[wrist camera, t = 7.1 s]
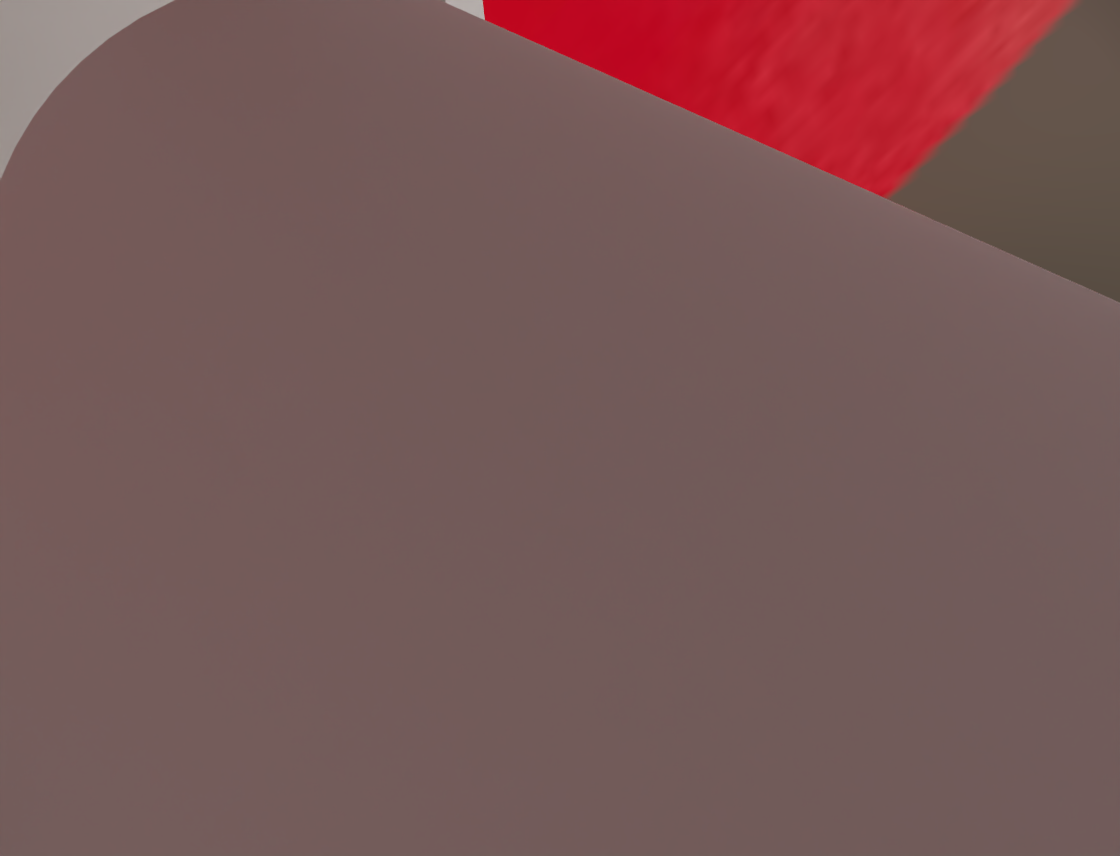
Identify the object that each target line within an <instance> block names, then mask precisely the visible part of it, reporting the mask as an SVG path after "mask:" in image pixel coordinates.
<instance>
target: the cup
mask: <svg viewBox="0 0 1120 856" xmlns="http://www.w3.org/2000/svg"><path fill="white" fill-rule="evenodd" d="M0 856H1120V303H1119V302H1117V301H1115V300H1112V299H1110V298H1108V297H1106V296H1103V295H1101V294H1099V293H1097V292H1094V291H1092V290H1090V289H1087V288H1085V287H1083V286H1081V285H1079V284H1076V283H1074V282H1072V281H1070V280H1067V279H1065V278H1063V277H1060V276H1058V275H1056V274H1054V273H1052V272H1049V271H1047V270H1045V269H1043V268H1040V267H1038V266H1036V265H1034V264H1032V263H1029V262H1027V261H1025V260H1022V259H1020V258H1018V257H1016V256H1014V255H1011V254H1009V253H1007V252H1004V251H1002V250H1000V249H998V248H996V247H993V246H991V245H989V244H987V243H984V242H982V241H980V240H977V239H975V238H973V237H971V236H969V235H966V234H964V233H961V232H960V231H957V230H955V229H953V228H951V227H948V226H946V225H944V224H941V223H939V222H937V221H935V220H933V219H930V218H928V217H926V216H923V215H921V214H919V213H917V212H915V211H912V210H910V209H908V208H906V207H903V206H901V205H899V204H897V203H894V202H892V201H890V200H888V199H885V198H883V197H881V196H879V195H876V194H874V193H872V192H870V191H867V190H865V189H863V188H861V187H858V186H856V185H854V184H852V183H849V182H847V181H845V180H843V179H840V178H838V177H836V176H834V175H832V174H829V173H827V172H825V171H823V170H820V169H818V168H816V167H814V166H811V165H809V164H807V163H805V162H802V161H800V160H798V159H796V158H793V157H791V156H789V155H787V154H784V153H782V152H780V151H778V150H775V149H773V148H771V147H769V146H766V145H764V144H762V143H760V142H757V141H755V140H753V139H751V138H748V137H746V136H744V135H742V134H739V133H737V132H735V131H733V130H730V129H728V128H726V127H724V126H721V125H719V124H717V123H715V122H712V121H710V120H708V119H706V118H703V117H701V116H699V115H697V114H694V113H692V112H690V111H688V110H685V109H683V108H681V107H679V106H676V105H674V104H672V103H670V102H667V101H665V100H663V99H661V98H658V97H656V96H654V95H652V94H649V93H647V92H645V91H643V90H640V89H638V88H636V87H634V86H632V85H629V84H627V83H625V82H623V81H620V80H618V79H616V78H614V77H611V76H609V75H607V74H605V73H602V72H600V71H598V70H596V69H593V68H591V67H589V66H587V65H584V64H582V63H580V62H578V61H575V60H573V59H571V58H569V57H566V56H564V55H562V54H560V53H557V52H555V51H553V50H551V49H548V48H546V47H544V46H542V45H539V44H537V43H535V42H533V41H530V40H528V39H526V38H524V37H521V36H519V35H517V34H515V33H512V32H510V31H508V30H506V29H503V28H501V27H499V26H497V25H494V24H492V23H490V22H488V21H485V20H483V19H481V18H479V17H476V16H474V15H472V14H470V13H467V12H465V11H463V10H461V9H458V8H456V7H454V6H452V5H449V4H447V3H445V2H443V1H440V0H175V1H172V2H170V3H168V4H166V5H164V6H162V7H160V8H158V9H156V10H155V11H153V12H151V13H149V14H147V15H145V16H143V17H141V18H139V19H137V20H136V21H134V22H133V23H131V24H130V25H128V26H127V27H125V28H124V29H122V30H121V31H119V32H118V33H116V34H115V35H113V36H112V37H110V38H109V39H107V40H106V41H105V42H104V43H103V44H101V45H100V46H99V47H98V48H97V49H95V50H94V51H93V52H92V53H91V54H89V55H88V56H87V57H86V58H84V59H83V60H82V61H81V62H80V63H79V64H78V65H77V66H76V67H75V68H74V69H73V70H72V71H71V72H70V73H69V74H68V75H67V76H66V77H65V78H64V79H63V81H62V82H61V83H60V84H59V85H58V86H57V87H56V88H55V89H54V90H53V92H52V93H51V94H50V96H49V97H48V98H47V100H46V101H45V102H44V103H43V105H42V106H41V107H40V109H39V110H38V111H37V113H36V114H35V115H34V116H33V118H32V120H31V121H30V123H29V125H28V126H27V128H26V130H25V131H24V133H23V135H22V136H21V138H20V140H19V141H18V143H17V145H16V146H15V148H14V151H13V153H12V155H11V157H10V159H9V162H8V164H7V166H6V168H5V170H4V173H3V175H2V177H1V179H0Z"/></svg>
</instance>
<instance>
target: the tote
mask: <svg viewBox="0 0 1120 856" xmlns="http://www.w3.org/2000/svg"><path fill="white" fill-rule="evenodd" d="M172 1H175V0H0V179H1V177H2V175H3V173H4V170H5V168H6V166H7V164H8V162H9V159H10V157H11V155H12V153H13V151H14V148H15V146H16V145H17V143H18V141H19V140H20V138H21V136H22V135H23V133H24V131H25V130H26V128H27V126H28V125H29V123H30V121H31V120H32V118H33V116H34V115H35V114H36V113H37V111H38V110H39V109H40V107H41V106H42V105H43V103H44V102H45V101H46V100H47V98H48V97H49V96H50V94H51V93H52V92H53V90H54V89H55V88H56V87H57V86H58V85H59V84H60V83H61V82H62V81H63V79H64V78H65V77H66V76H67V75H68V74H69V73H70V72H71V71H72V70H73V69H74V68H75V67H76V66H77V65H78V64H79V63H80V62H81V61H82V60H83V59H84V58H86V57H87V56H88V55H89V54H91V53H92V52H93V51H94V50H95V49H97V48H98V47H99V46H100V45H101V44H103V43H104V42H105V41H106V40H107V39H109V38H110V37H112V36H113V35H115V34H116V33H118V32H119V31H121V30H122V29H124V28H125V27H127V26H128V25H130V24H131V23H133V22H134V21H136V20H137V19H139V18H141V17H143V16H145V15H147V14H149V13H151V12H153V11H155V10H156V9H158V8H160V7H162V6H164V5H166V4H168V3H170V2H172ZM440 1H443V2H445V3H447V4H449V5H452V6H454V7H456V8H458V9H461V10H463V11H465V12H467V13H470V14H472V15H474V16H476V17H479V18H481V19H483V20H485V18H484V10H483V2H482V0H440Z"/></svg>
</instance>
